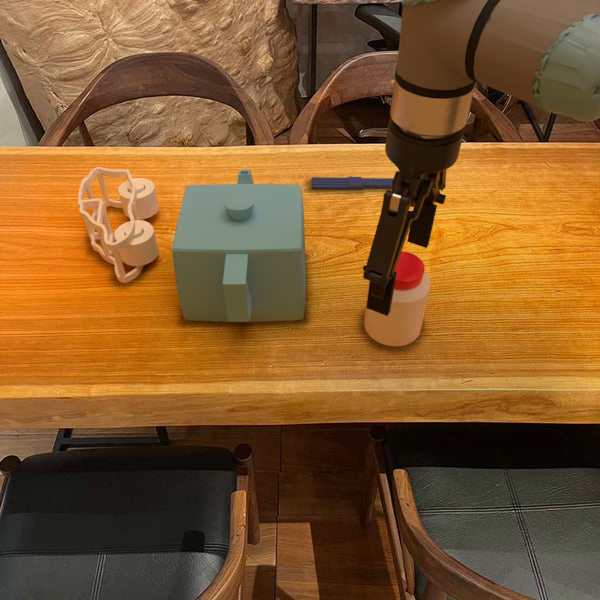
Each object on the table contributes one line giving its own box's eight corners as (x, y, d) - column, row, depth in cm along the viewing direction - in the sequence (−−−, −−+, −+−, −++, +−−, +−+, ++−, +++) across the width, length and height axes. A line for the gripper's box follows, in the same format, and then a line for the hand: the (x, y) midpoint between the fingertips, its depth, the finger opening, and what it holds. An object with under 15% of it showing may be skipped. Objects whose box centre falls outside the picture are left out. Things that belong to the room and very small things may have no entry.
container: (177, 347, 77) (156, 261, 66) (199, 227, 95) (185, 143, 83) (306, 347, 77) (307, 260, 66) (304, 227, 95) (305, 142, 84)
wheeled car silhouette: (160, 279, 86) (151, 241, 81) (83, 287, 85) (69, 249, 80) (160, 198, 100) (153, 161, 95) (94, 205, 99) (82, 167, 93)
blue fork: (429, 180, 103) (429, 177, 103) (431, 190, 102) (431, 186, 101) (311, 180, 104) (311, 176, 103) (311, 189, 102) (311, 185, 101)
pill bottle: (386, 355, 76) (396, 296, 68) (353, 317, 81) (358, 258, 73) (432, 332, 79) (447, 273, 71) (397, 296, 84) (407, 237, 76)
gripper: (432, 63, 67) (406, 211, 82) (338, 174, 52) (328, 330, 67) (497, 78, 64) (458, 227, 80) (419, 199, 49) (389, 355, 65)
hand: (399, 275), depth 73 cm, fingers open, 13 cm apart
